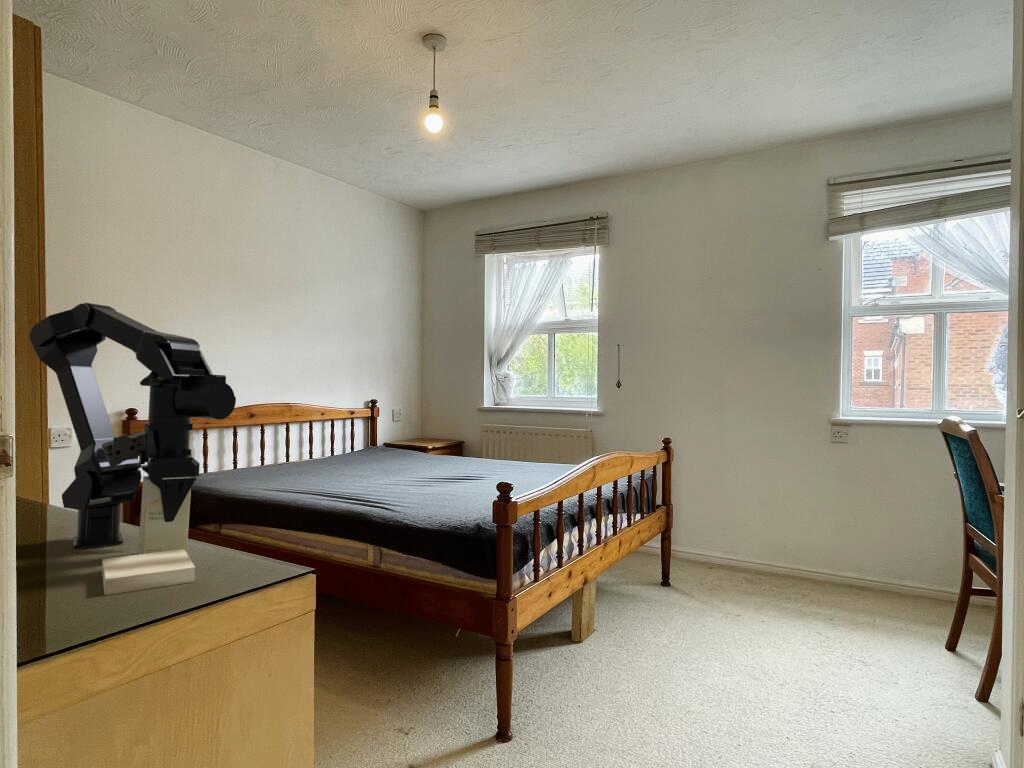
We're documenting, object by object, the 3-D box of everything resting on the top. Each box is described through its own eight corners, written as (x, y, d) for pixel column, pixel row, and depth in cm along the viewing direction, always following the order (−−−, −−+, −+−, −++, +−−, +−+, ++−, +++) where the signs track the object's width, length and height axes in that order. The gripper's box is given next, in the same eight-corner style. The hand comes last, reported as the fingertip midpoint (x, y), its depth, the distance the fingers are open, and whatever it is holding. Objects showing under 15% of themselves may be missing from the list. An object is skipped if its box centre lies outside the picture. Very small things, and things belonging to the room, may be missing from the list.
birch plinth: (101, 573, 80) (102, 558, 80) (183, 562, 86) (184, 549, 86) (104, 595, 72) (105, 579, 72) (194, 581, 78) (195, 567, 78)
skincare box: (141, 561, 86) (145, 480, 86) (137, 553, 89) (141, 475, 90) (188, 554, 90) (192, 477, 90) (183, 547, 93) (186, 473, 94)
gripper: (104, 412, 92) (99, 509, 92) (110, 420, 78) (104, 535, 77) (183, 412, 99) (179, 503, 99) (202, 420, 84) (197, 526, 84)
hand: (165, 515), depth 90 cm, fingers open, 9 cm apart
